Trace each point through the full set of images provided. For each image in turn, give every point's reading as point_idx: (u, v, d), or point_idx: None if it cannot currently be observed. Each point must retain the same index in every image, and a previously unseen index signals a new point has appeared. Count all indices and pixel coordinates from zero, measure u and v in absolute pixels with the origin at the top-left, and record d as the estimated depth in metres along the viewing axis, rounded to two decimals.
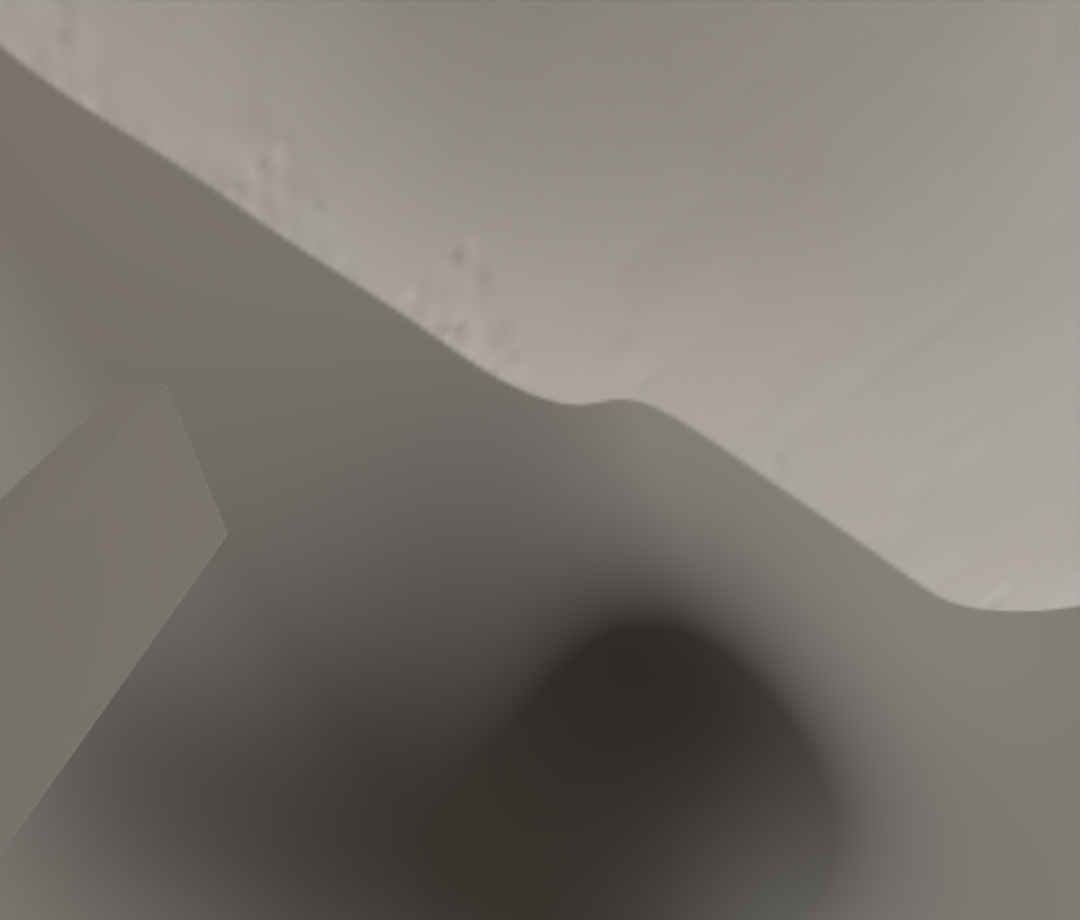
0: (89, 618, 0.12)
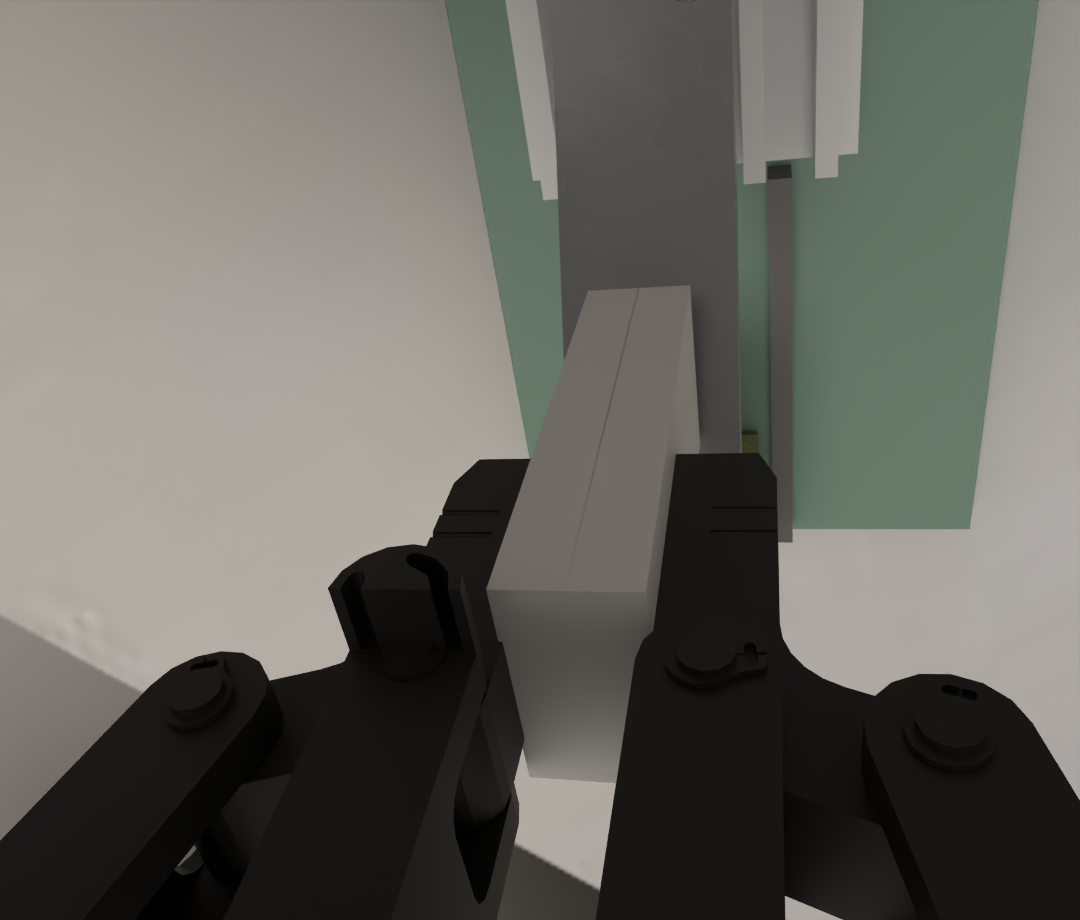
0: None
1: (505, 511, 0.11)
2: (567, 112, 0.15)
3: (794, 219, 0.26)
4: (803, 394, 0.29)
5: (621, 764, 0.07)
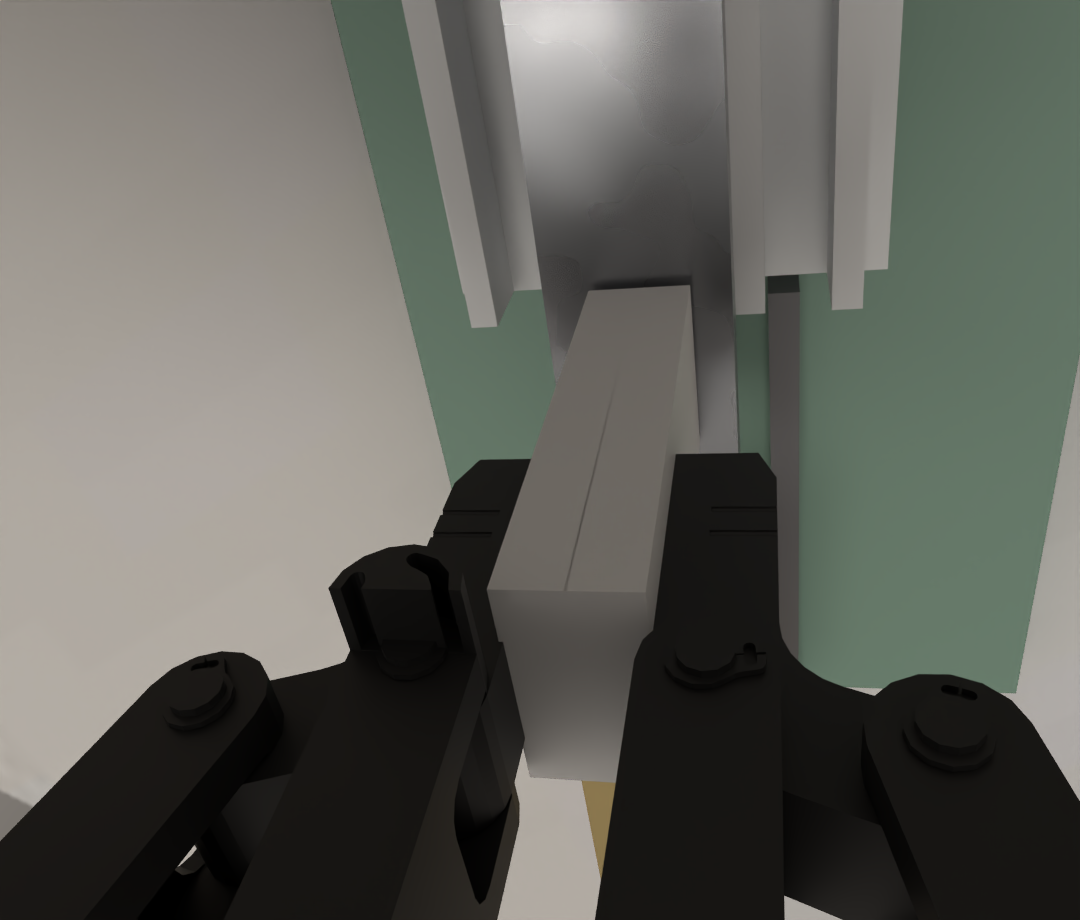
0: None
1: (505, 511, 0.11)
2: (550, 256, 0.14)
3: (802, 336, 0.20)
4: (812, 538, 0.23)
5: (621, 762, 0.07)
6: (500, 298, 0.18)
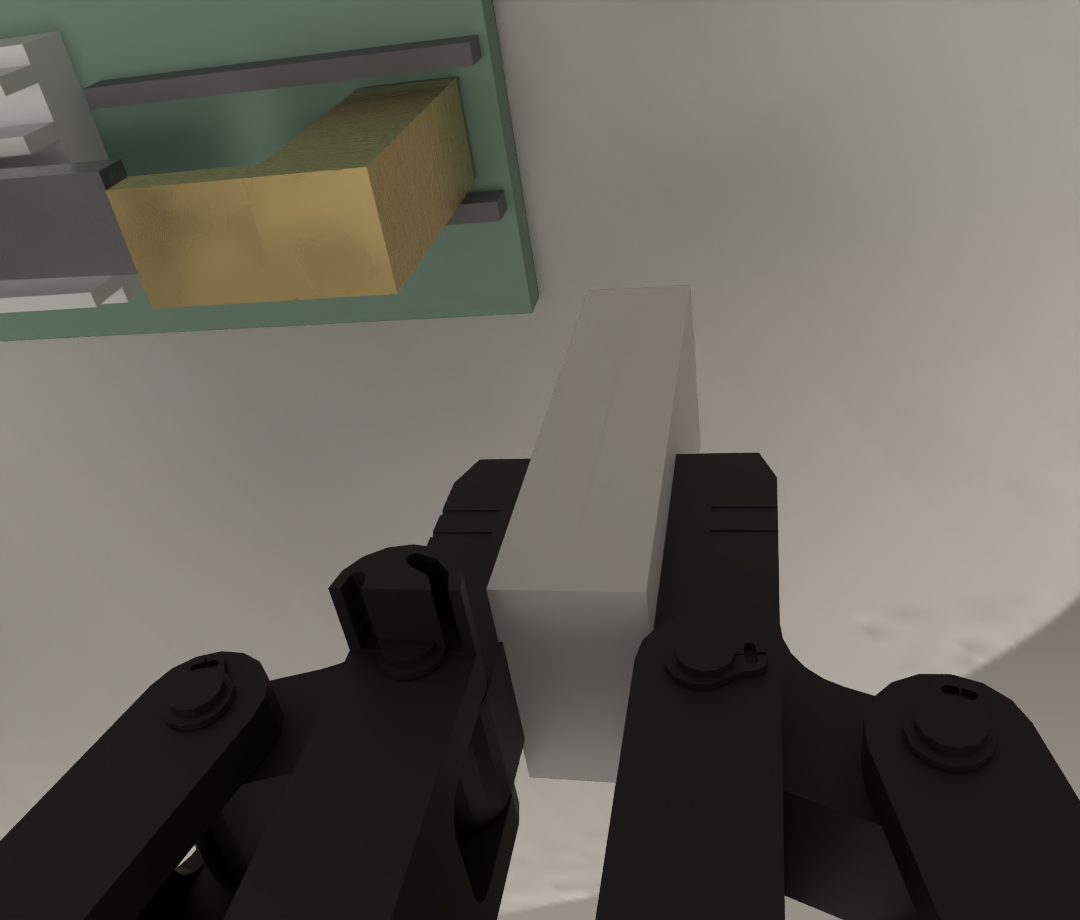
0: None
1: (505, 511, 0.11)
2: None
3: (143, 71, 0.29)
4: (309, 41, 0.28)
5: (620, 763, 0.07)
6: (90, 286, 0.30)
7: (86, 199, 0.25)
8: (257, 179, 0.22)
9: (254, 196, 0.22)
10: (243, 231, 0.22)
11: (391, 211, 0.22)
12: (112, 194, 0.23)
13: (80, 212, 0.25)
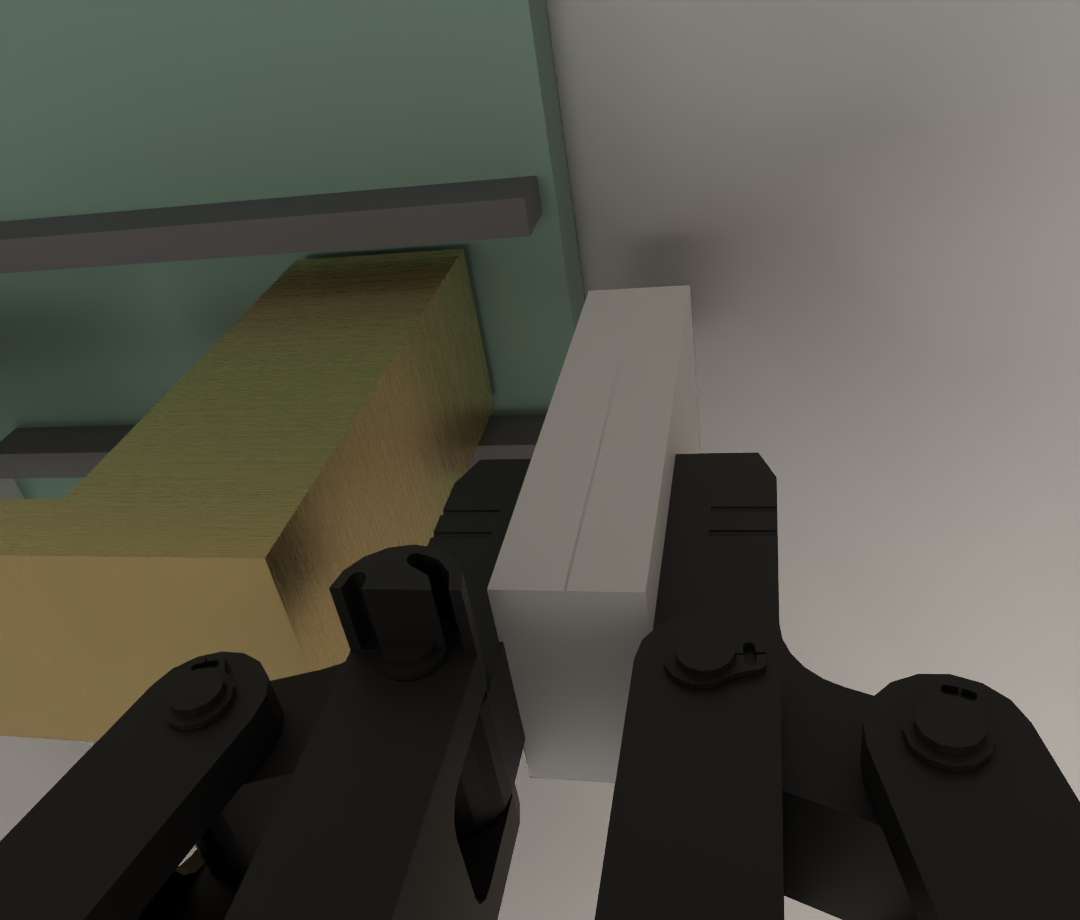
0: None
1: (506, 511, 0.11)
2: None
3: None
4: (245, 179, 0.16)
5: (620, 762, 0.07)
6: None
7: None
8: (41, 560, 0.10)
9: (40, 586, 0.10)
10: (30, 637, 0.11)
11: (328, 600, 0.11)
12: None
13: None
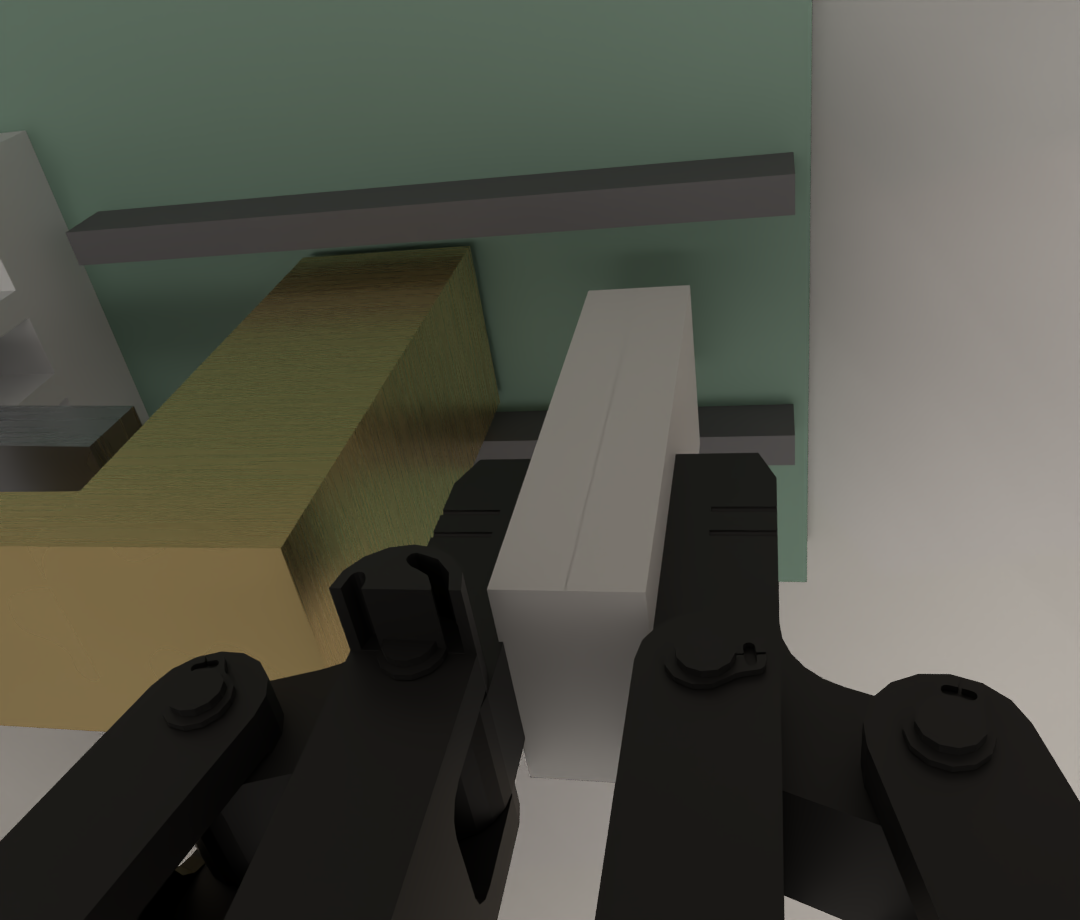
0: None
1: (506, 511, 0.11)
2: None
3: (171, 199, 0.17)
4: (471, 157, 0.15)
5: (621, 762, 0.07)
6: None
7: (66, 489, 0.13)
8: (58, 551, 0.10)
9: (57, 577, 0.11)
10: (46, 628, 0.11)
11: None
12: None
13: None
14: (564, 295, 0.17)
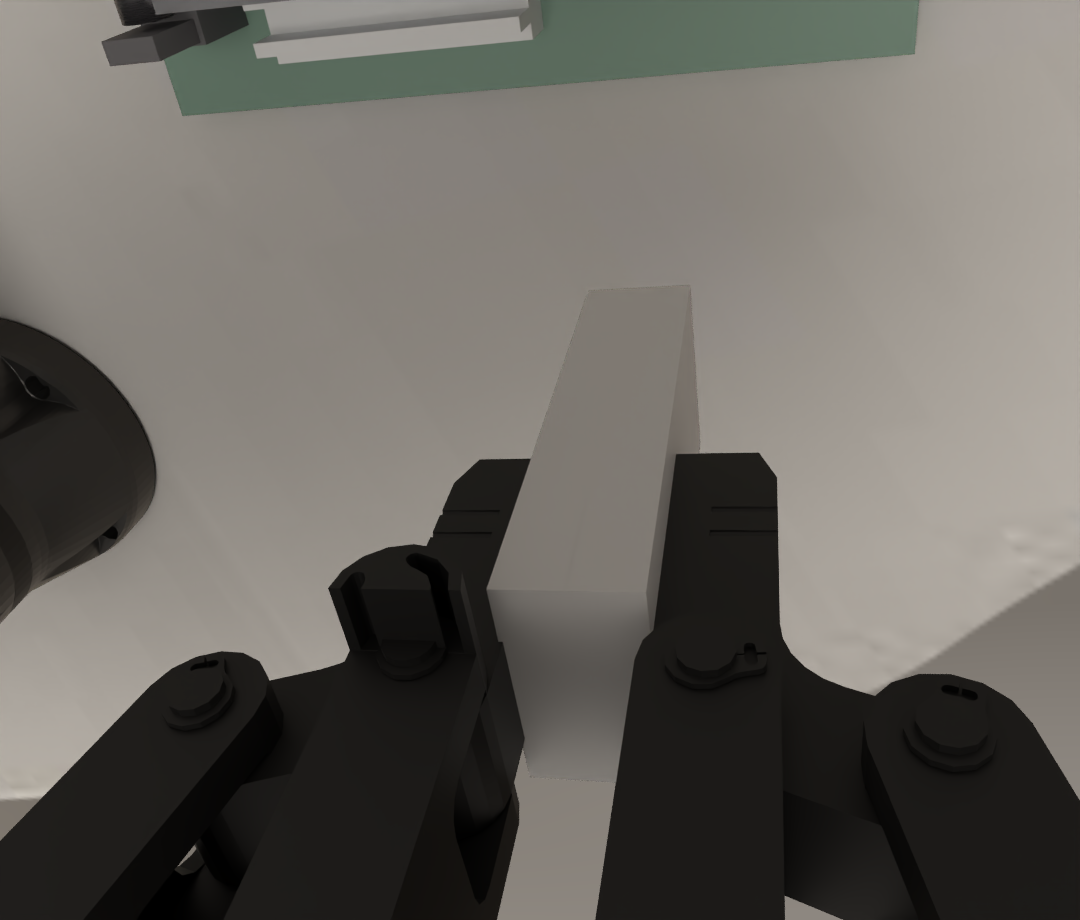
0: None
1: (505, 511, 0.11)
2: None
3: None
4: None
5: (622, 763, 0.07)
6: (512, 14, 0.33)
7: None
8: None
9: None
10: None
11: None
12: None
13: None
14: None
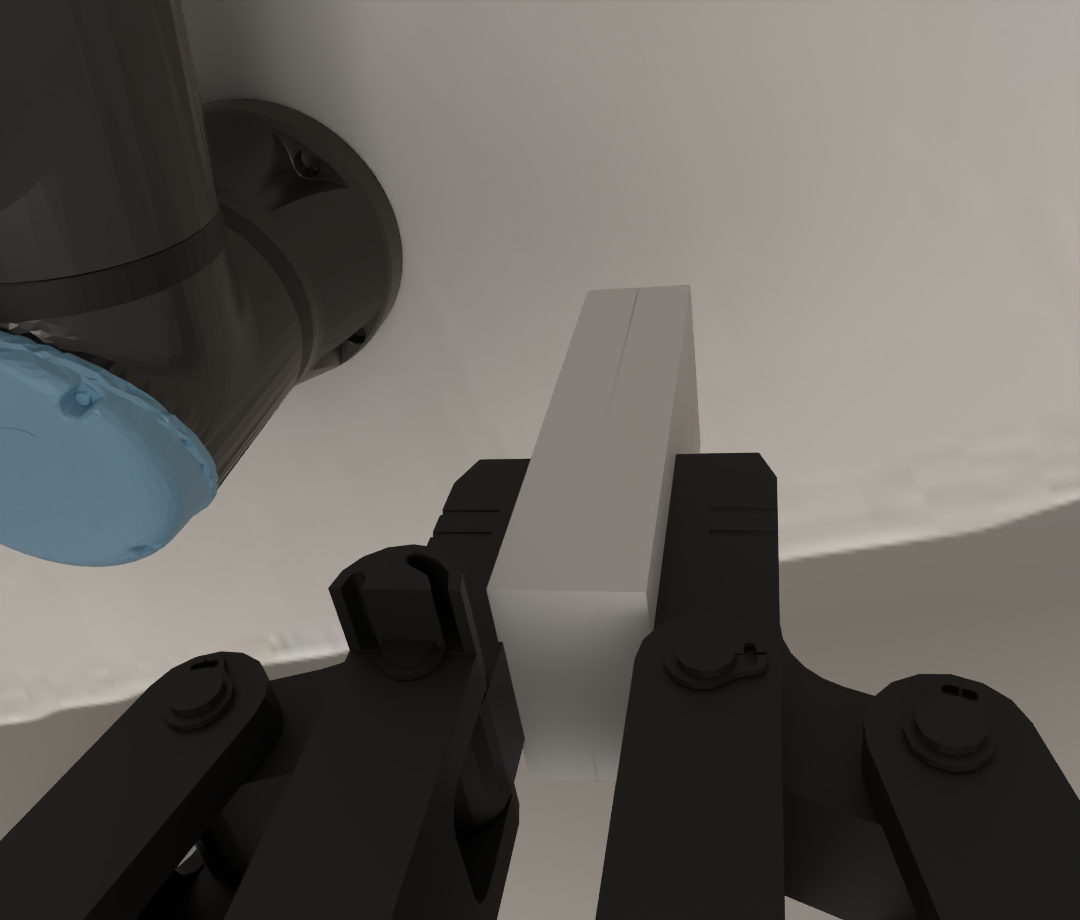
0: None
1: (505, 511, 0.11)
2: None
3: None
4: None
5: (621, 762, 0.07)
6: None
7: None
8: None
9: None
10: None
11: None
12: None
13: None
14: None
